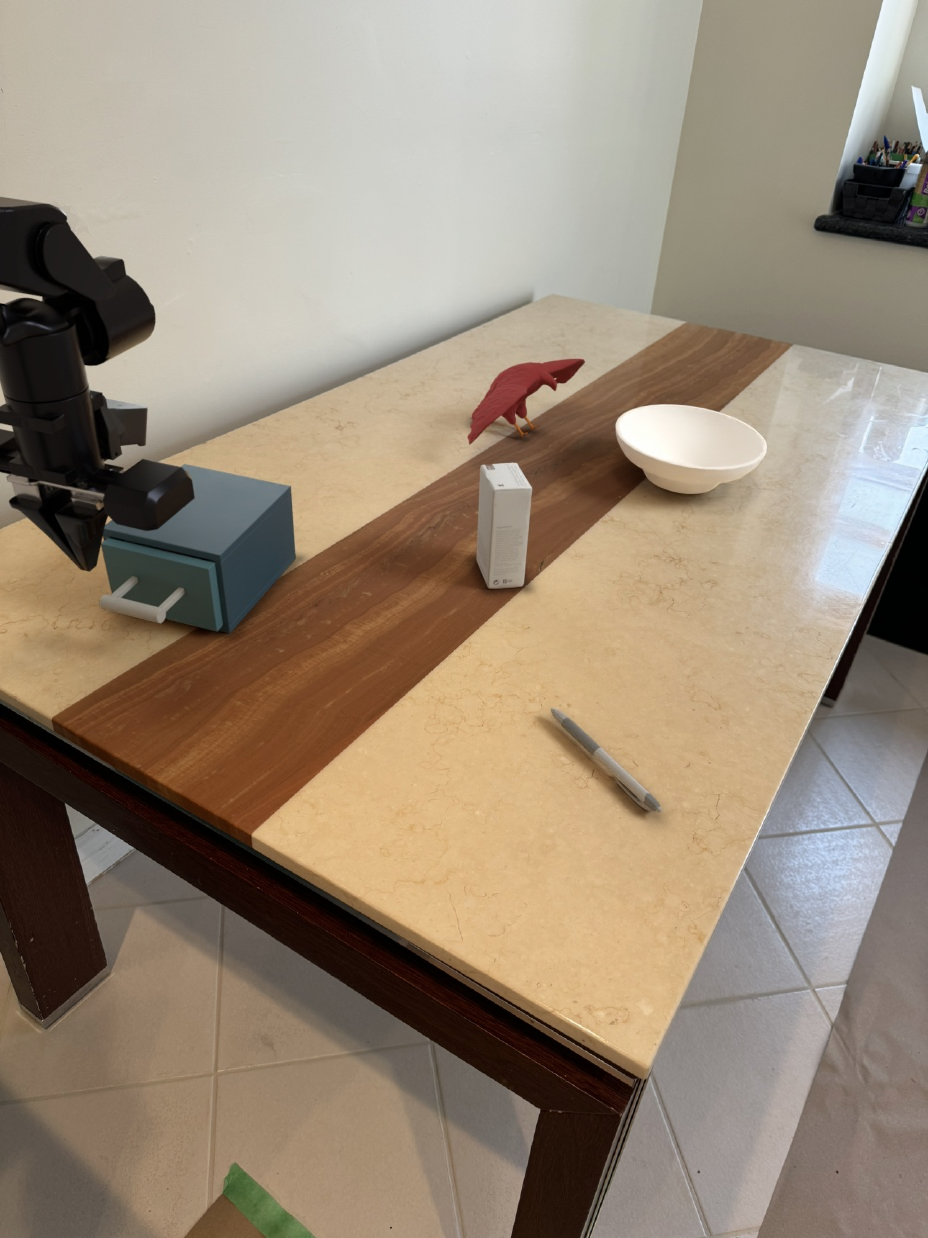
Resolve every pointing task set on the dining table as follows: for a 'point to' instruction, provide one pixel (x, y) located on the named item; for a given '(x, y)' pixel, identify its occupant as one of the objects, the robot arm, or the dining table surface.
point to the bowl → (689, 446)
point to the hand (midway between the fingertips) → (88, 568)
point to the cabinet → (229, 535)
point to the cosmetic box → (503, 524)
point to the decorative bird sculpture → (519, 392)
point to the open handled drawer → (160, 585)
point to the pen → (608, 763)
